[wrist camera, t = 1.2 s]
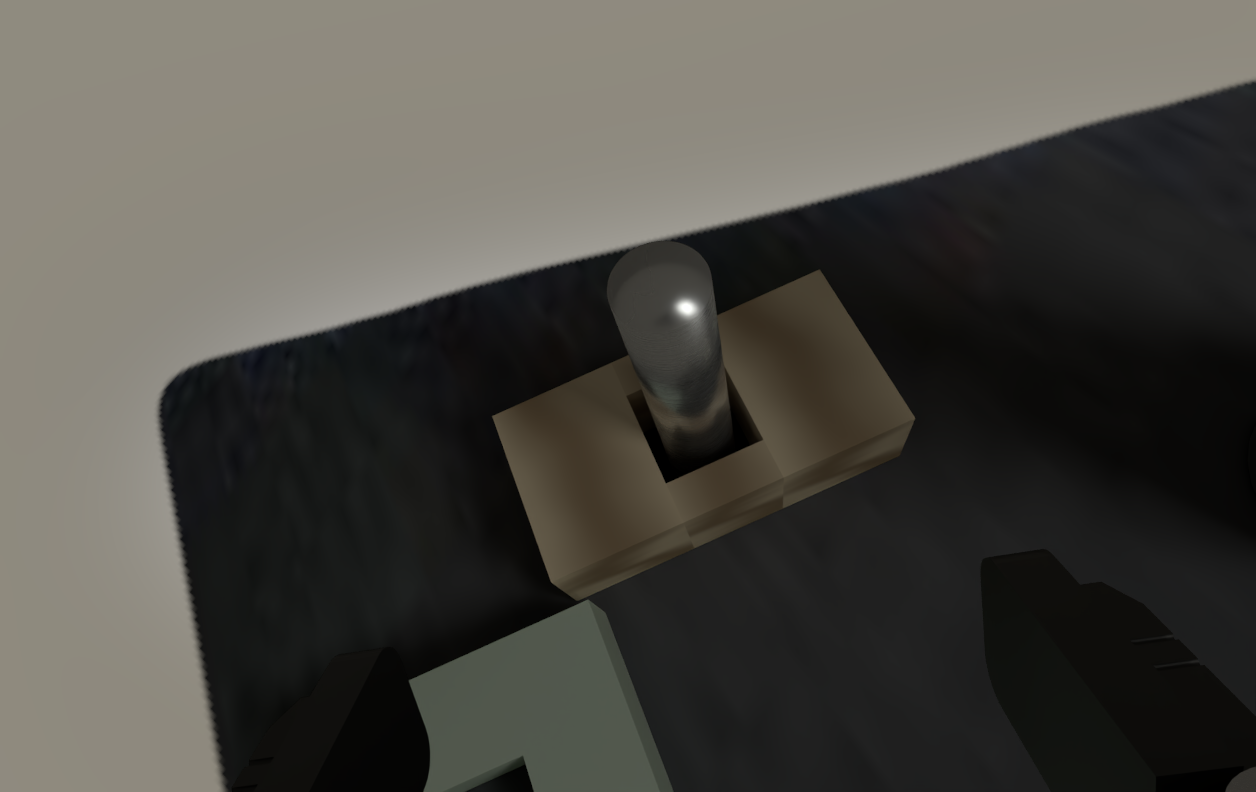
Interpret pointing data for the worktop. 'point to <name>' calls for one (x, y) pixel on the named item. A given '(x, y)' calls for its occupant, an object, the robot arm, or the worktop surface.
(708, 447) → the axle
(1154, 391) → the worktop surface
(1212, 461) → the worktop surface
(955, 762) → the worktop surface
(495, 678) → the socket block
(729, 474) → the wooden block with hole
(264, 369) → the worktop surface
